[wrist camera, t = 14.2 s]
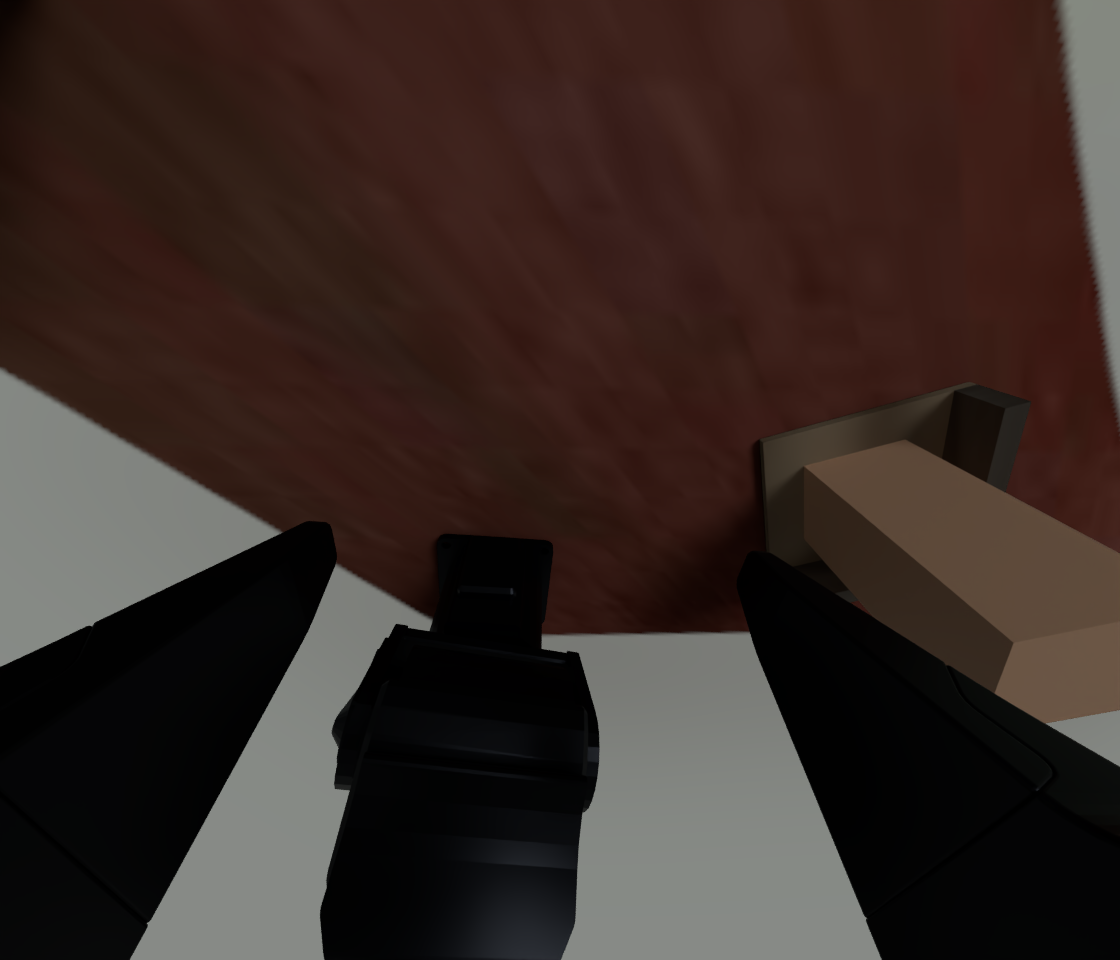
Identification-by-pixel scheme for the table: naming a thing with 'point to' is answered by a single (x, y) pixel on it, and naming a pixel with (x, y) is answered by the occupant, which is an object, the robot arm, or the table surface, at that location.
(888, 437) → the grey shallow square piece
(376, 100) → the table surface
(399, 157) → the table surface
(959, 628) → the tan block
